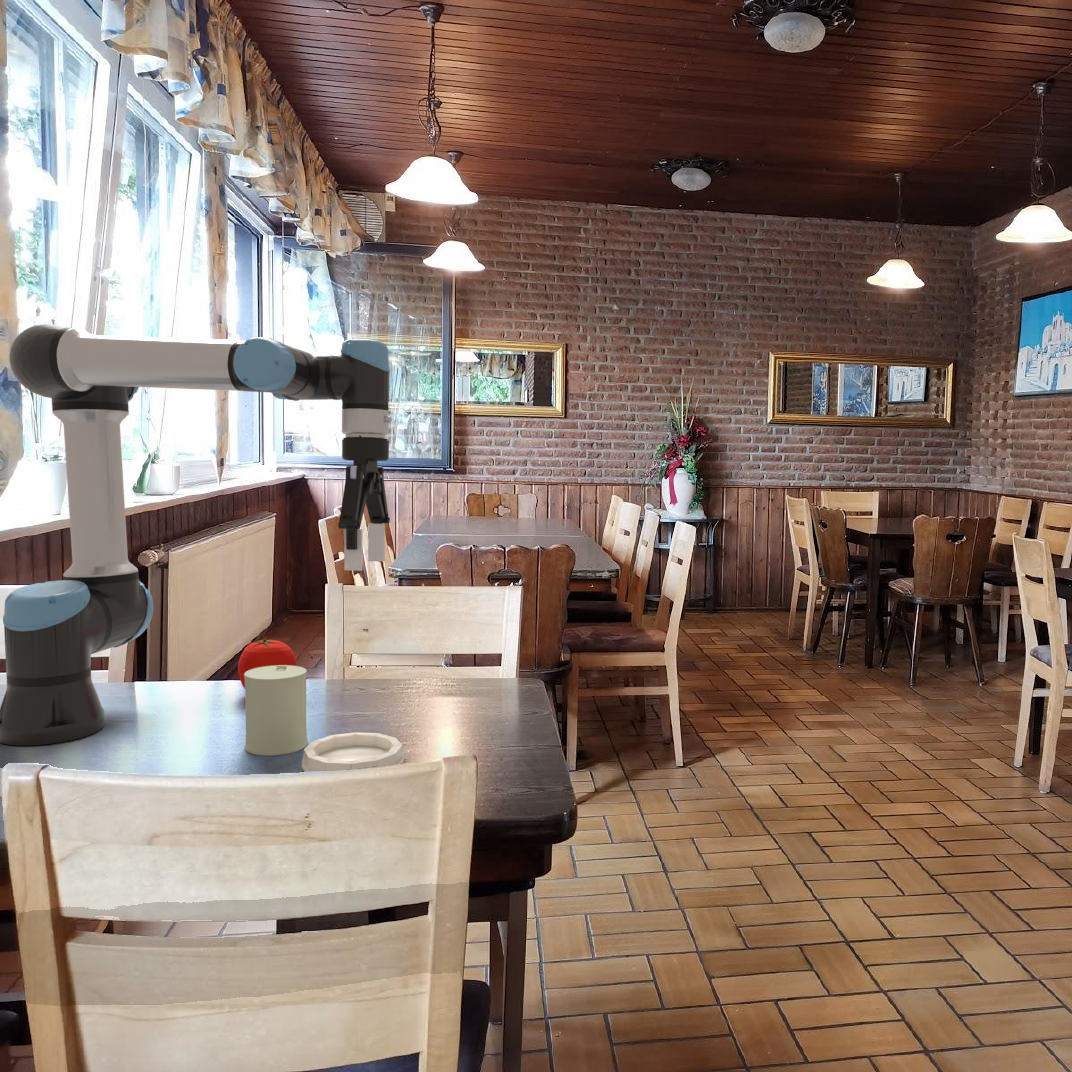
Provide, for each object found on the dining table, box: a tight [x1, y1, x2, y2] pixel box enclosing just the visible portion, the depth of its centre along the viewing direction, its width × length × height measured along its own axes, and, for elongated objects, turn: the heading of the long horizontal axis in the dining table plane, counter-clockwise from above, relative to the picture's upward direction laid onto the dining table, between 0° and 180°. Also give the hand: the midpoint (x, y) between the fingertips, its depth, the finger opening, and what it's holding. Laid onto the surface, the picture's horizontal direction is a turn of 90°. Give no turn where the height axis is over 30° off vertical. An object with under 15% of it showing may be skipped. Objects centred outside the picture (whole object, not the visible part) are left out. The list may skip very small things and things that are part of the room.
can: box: [244, 665, 309, 757], centre depth 127 cm, size 9×9×12 cm
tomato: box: [237, 638, 298, 690], centre depth 155 cm, size 10×11×11 cm
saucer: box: [301, 731, 405, 771], centre depth 121 cm, size 14×14×2 cm
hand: (365, 565), depth 139 cm, fingers open, 13 cm apart
